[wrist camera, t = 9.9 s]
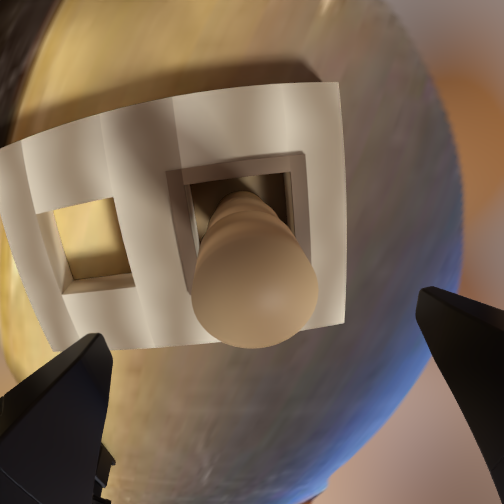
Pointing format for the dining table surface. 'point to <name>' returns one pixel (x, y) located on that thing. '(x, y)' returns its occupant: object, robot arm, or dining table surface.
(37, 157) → the board
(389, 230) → the dining table surface
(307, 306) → the peg
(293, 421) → the dining table surface
